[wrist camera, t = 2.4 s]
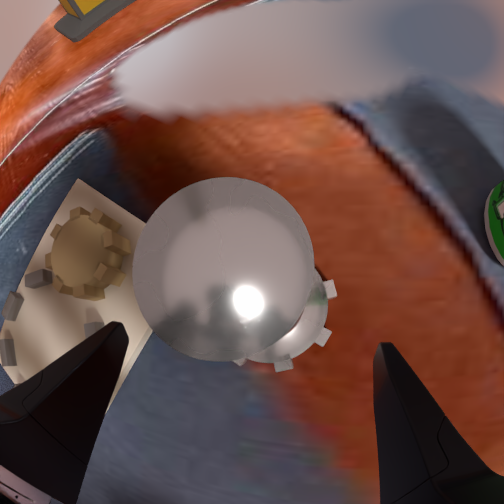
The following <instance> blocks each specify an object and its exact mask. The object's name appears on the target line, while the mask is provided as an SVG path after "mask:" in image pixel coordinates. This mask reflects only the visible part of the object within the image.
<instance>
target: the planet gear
mask: <svg viewBox="0 0 504 504" xmlns="http://www.w3.org/2000/svg"><path fill="white" fill-rule="evenodd" d="M132 278H133V288H134V293H135V297H136V300H137V303H138V306H139V309H140V311H141V313H142V315H143V317H144V319H145V320H146V322H147V323H148V325H149V326H150V328H151V329H152V330H153V331H154V332H155V333H156V335H157V336H158V337H159V338H161V339H162V340H163V341H164V342H165V343H166V344H168V345H169V346H171V347H172V348H174V349H175V350H177V351H179V352H181V353H183V354H185V355H188V356H190V357H194V358H197V359H201V360H207V361H233V362H235V363H236V364H238V365H239V366H241V365H243V364H244V363H245V362H246V361H247V359H250V360H253V361H257V362H263V363H274V366H275V370H276V372H280V371H285V370H289V369H293V361H292V358H294V357H296V356H298V355H299V354H301V353H303V352H304V351H305V350H307V349H308V348H309V347H310V346H311V345H312V344H313V343H314V342H315V343H317V344H319V345H320V346H322V347H323V346H324V344H325V343H326V341H327V340H328V338H329V336H330V335H331V333H332V332H331V331H330V330H328V329H326V328H324V324H325V321H326V317H327V310H328V300H330V299H334V298H335V297H336V296H337V293H336V289H335V286H334V282H333V279H332V280H329V281H325V282H323V281H322V279H321V277H320V275H319V274H318V272H317V271H316V269H315V268H314V253H313V248H312V243H311V239H310V236H309V234H308V231H307V228H306V226H305V225H304V223H303V221H302V219H301V217H300V216H299V214H298V213H297V212H296V210H295V209H294V208H293V207H292V206H291V205H290V203H289V202H288V201H287V200H286V199H284V198H283V197H282V196H281V195H279V194H278V193H277V192H275V191H274V190H272V189H270V188H268V187H267V186H265V185H262V184H260V183H257V182H255V181H251V180H247V179H242V178H235V177H220V178H211V179H207V180H203V181H199V182H197V183H194V184H191V185H189V186H187V187H185V188H183V189H181V190H179V191H178V192H176V193H175V194H173V195H172V196H170V197H169V198H168V199H167V200H166V201H165V202H163V203H162V204H161V205H160V206H159V208H158V209H157V210H156V211H155V212H154V213H153V215H152V216H151V217H150V219H149V220H148V221H147V223H146V225H145V227H144V228H143V230H142V232H141V235H140V237H139V239H138V242H137V246H136V249H135V253H134V259H133V268H132Z"/></svg>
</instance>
